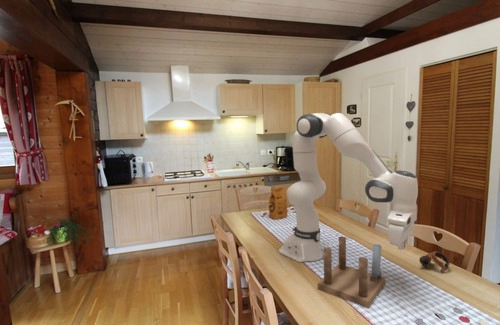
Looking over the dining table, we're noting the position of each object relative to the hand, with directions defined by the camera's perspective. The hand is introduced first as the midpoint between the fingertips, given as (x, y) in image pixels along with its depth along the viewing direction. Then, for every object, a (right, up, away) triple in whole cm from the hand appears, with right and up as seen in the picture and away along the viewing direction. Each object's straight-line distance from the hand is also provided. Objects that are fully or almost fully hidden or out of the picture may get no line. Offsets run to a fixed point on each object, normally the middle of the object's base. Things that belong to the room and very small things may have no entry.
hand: (401, 248), depth 107 cm
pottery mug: (+23, -14, +17) cm, 32 cm away
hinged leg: (-7, -13, +6) cm, 16 cm away
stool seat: (-17, -17, +6) cm, 25 cm away
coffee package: (-38, -7, +96) cm, 104 cm away
